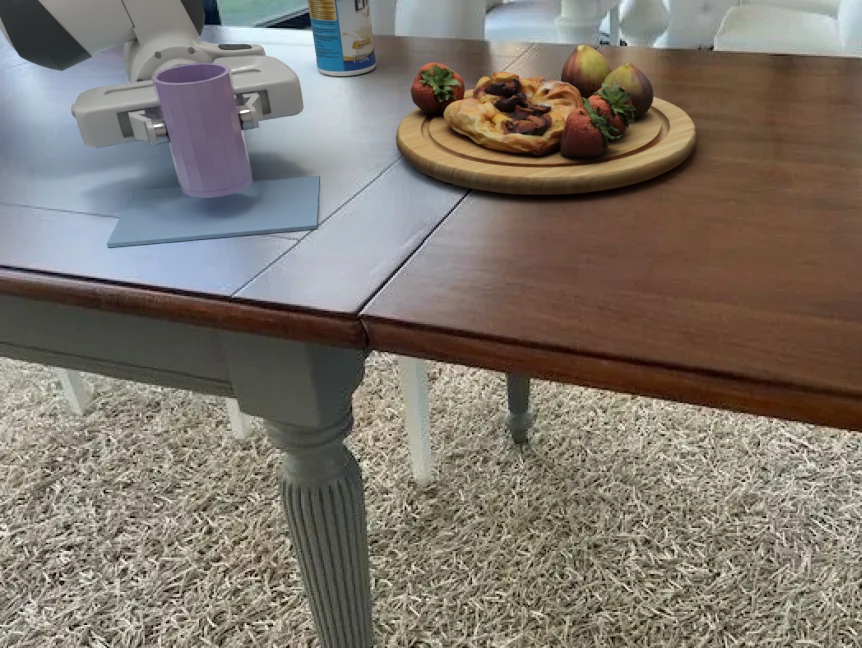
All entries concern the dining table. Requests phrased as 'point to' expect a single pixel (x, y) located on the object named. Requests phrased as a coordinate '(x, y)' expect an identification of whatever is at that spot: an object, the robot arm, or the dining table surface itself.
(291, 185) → the light blue flat slab
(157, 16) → the robot arm
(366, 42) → the beverage bottle
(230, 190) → the cup
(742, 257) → the dining table surface
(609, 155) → the wooden plate
